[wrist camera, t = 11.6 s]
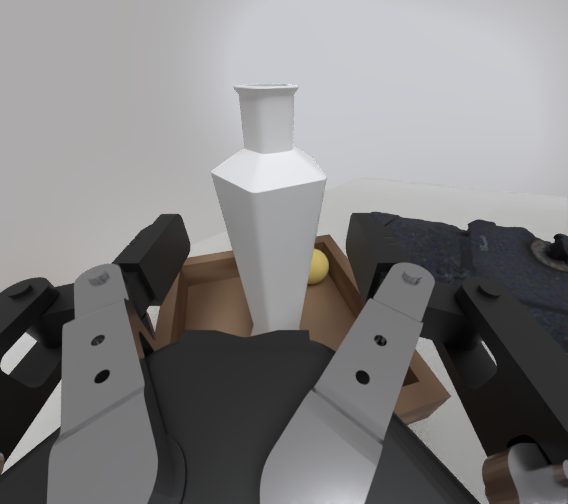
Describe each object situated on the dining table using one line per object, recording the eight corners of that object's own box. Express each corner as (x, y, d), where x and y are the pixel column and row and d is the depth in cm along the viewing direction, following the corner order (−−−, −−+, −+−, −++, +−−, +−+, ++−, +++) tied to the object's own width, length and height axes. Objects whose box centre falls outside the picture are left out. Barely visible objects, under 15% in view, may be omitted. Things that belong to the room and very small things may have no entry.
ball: (319, 264, 23) (322, 238, 21) (332, 287, 21) (337, 260, 19) (288, 270, 23) (288, 244, 21) (298, 294, 20) (299, 267, 18)
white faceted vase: (322, 334, 17) (367, 84, 8) (278, 377, 15) (264, 92, 5) (280, 299, 20) (275, 80, 10) (237, 331, 17) (179, 85, 8)
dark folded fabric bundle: (362, 217, 33) (370, 185, 30) (565, 254, 26) (601, 217, 23) (339, 294, 22) (347, 254, 19) (682, 394, 15) (782, 357, 12)
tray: (326, 258, 25) (329, 234, 23) (427, 417, 13) (451, 396, 12) (179, 285, 22) (169, 260, 20) (150, 517, 11) (119, 511, 9)
